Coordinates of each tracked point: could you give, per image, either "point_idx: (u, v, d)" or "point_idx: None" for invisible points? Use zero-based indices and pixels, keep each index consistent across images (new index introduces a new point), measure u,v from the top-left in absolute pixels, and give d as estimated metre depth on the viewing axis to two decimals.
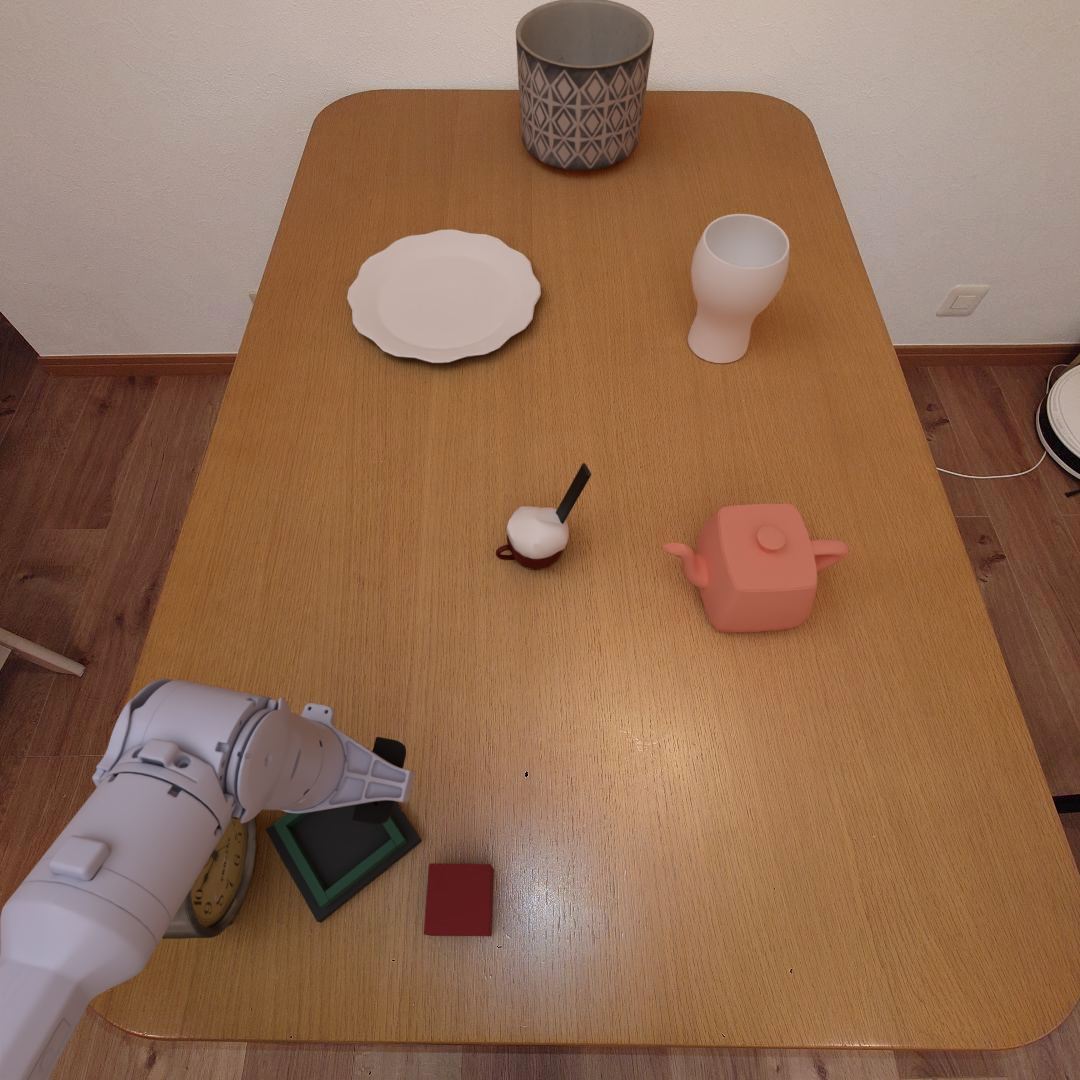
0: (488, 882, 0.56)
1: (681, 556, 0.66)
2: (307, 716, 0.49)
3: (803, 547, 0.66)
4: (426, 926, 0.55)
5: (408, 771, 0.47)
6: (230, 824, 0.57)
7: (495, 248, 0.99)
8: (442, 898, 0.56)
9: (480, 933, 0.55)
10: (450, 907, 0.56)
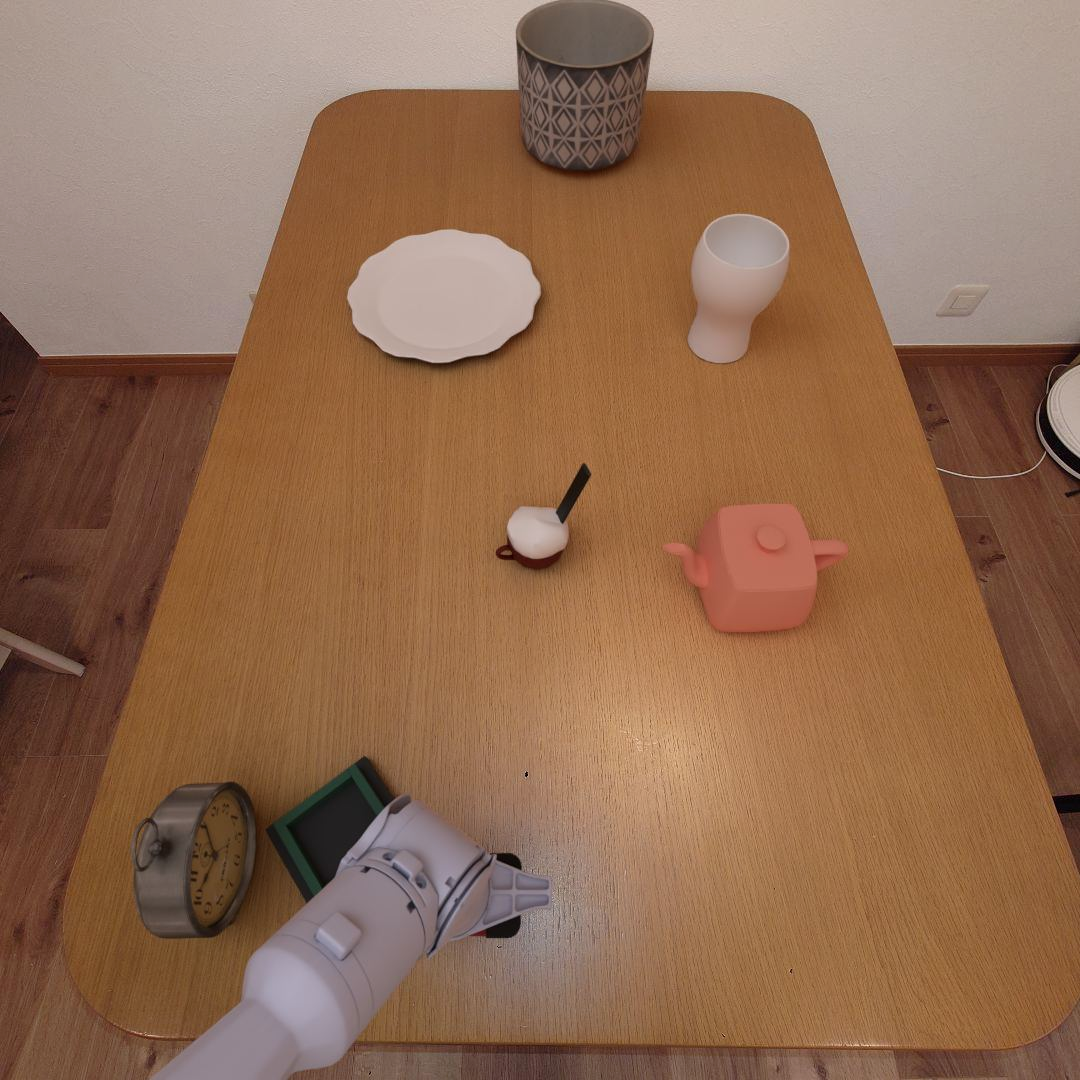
0: None
1: (681, 556, 0.66)
2: None
3: (803, 546, 0.66)
4: None
5: (549, 877, 0.51)
6: (230, 824, 0.57)
7: (495, 248, 0.99)
8: None
9: (479, 933, 0.55)
10: None
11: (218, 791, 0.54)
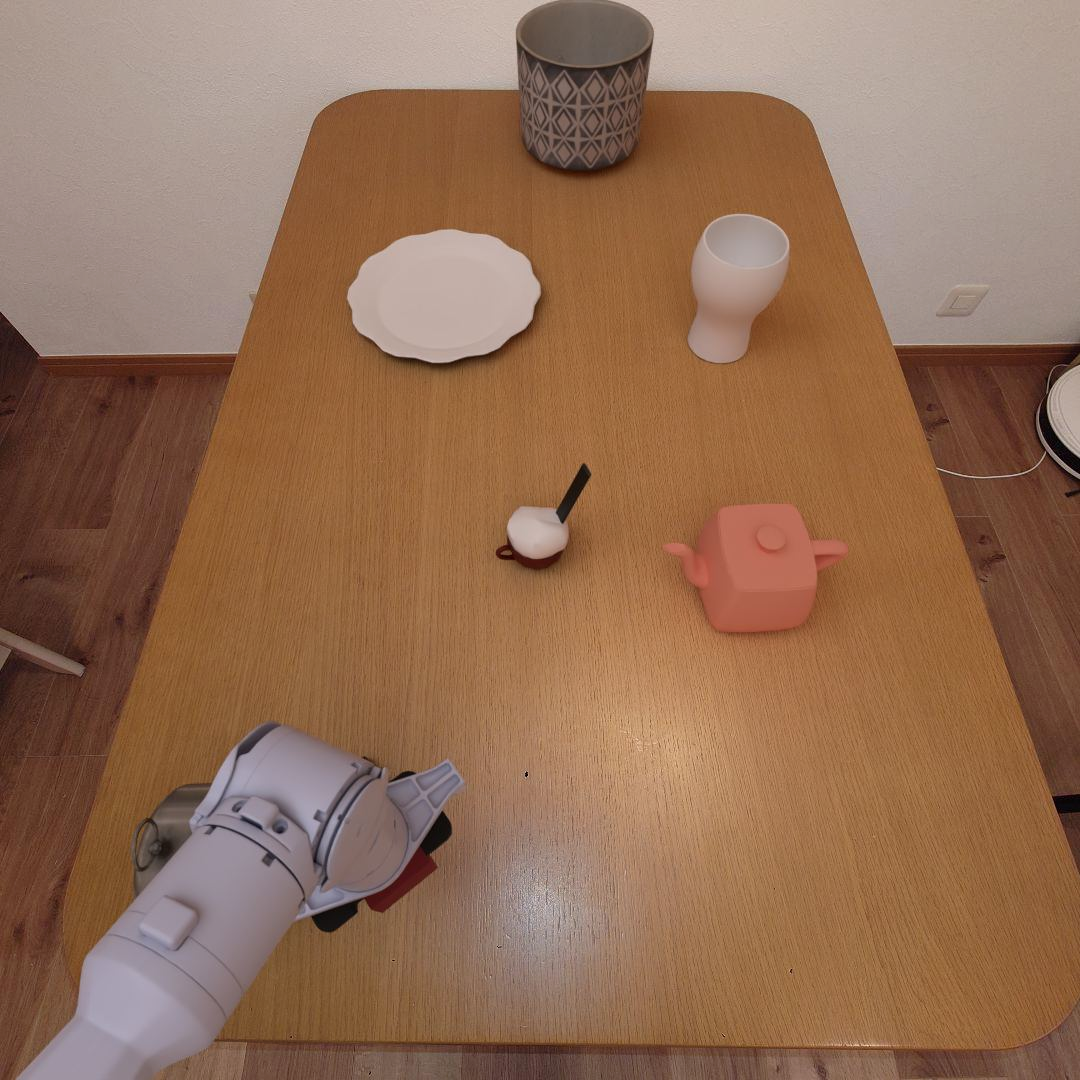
0: None
1: (681, 556, 0.66)
2: None
3: (803, 547, 0.66)
4: (369, 901, 0.50)
5: (447, 759, 0.48)
6: None
7: (495, 248, 0.99)
8: None
9: (423, 866, 0.51)
10: None
11: None
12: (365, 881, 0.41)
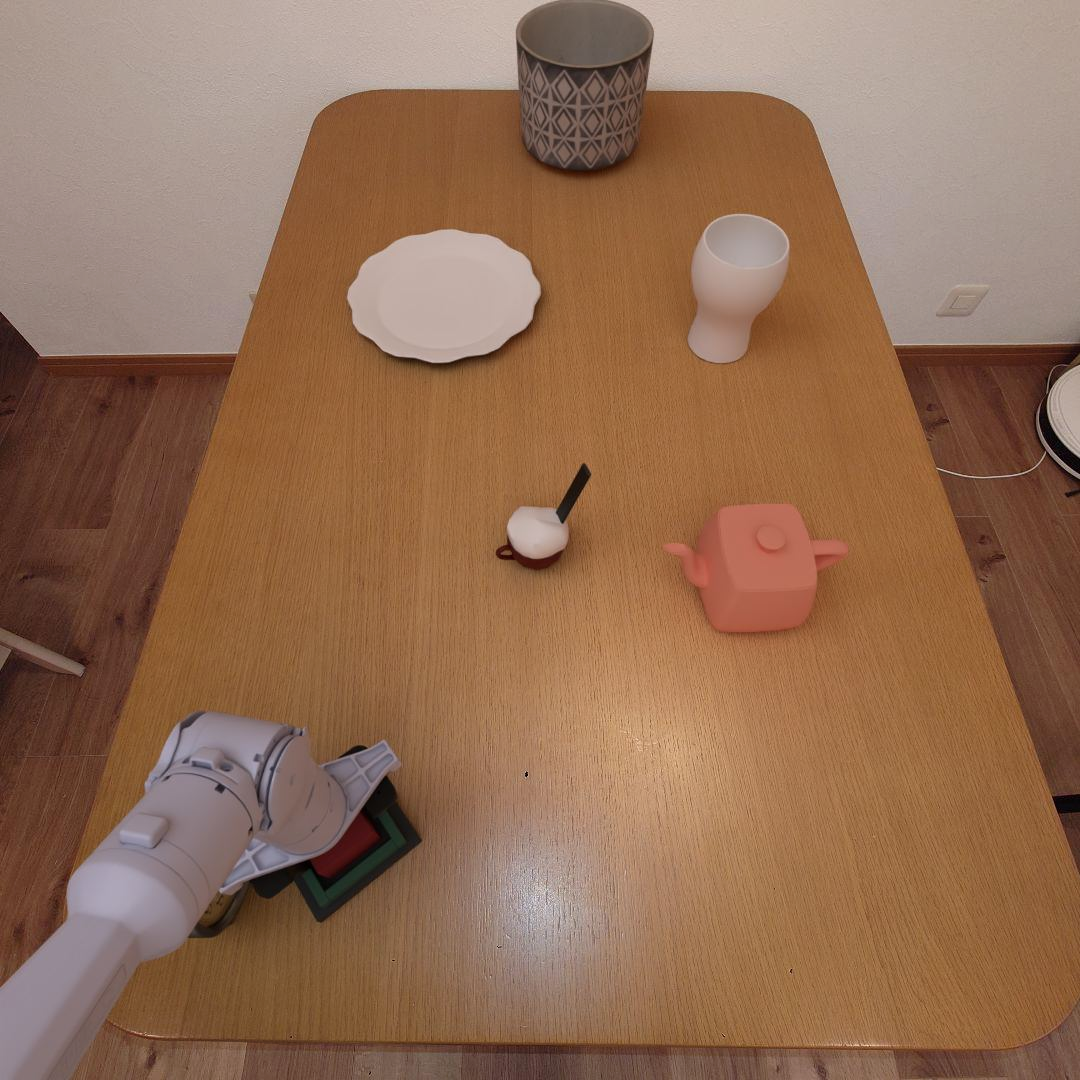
0: None
1: (681, 556, 0.66)
2: None
3: (803, 546, 0.66)
4: (316, 867, 0.56)
5: (383, 740, 0.54)
6: None
7: (495, 248, 0.99)
8: None
9: (365, 836, 0.57)
10: None
11: None
12: (303, 843, 0.47)
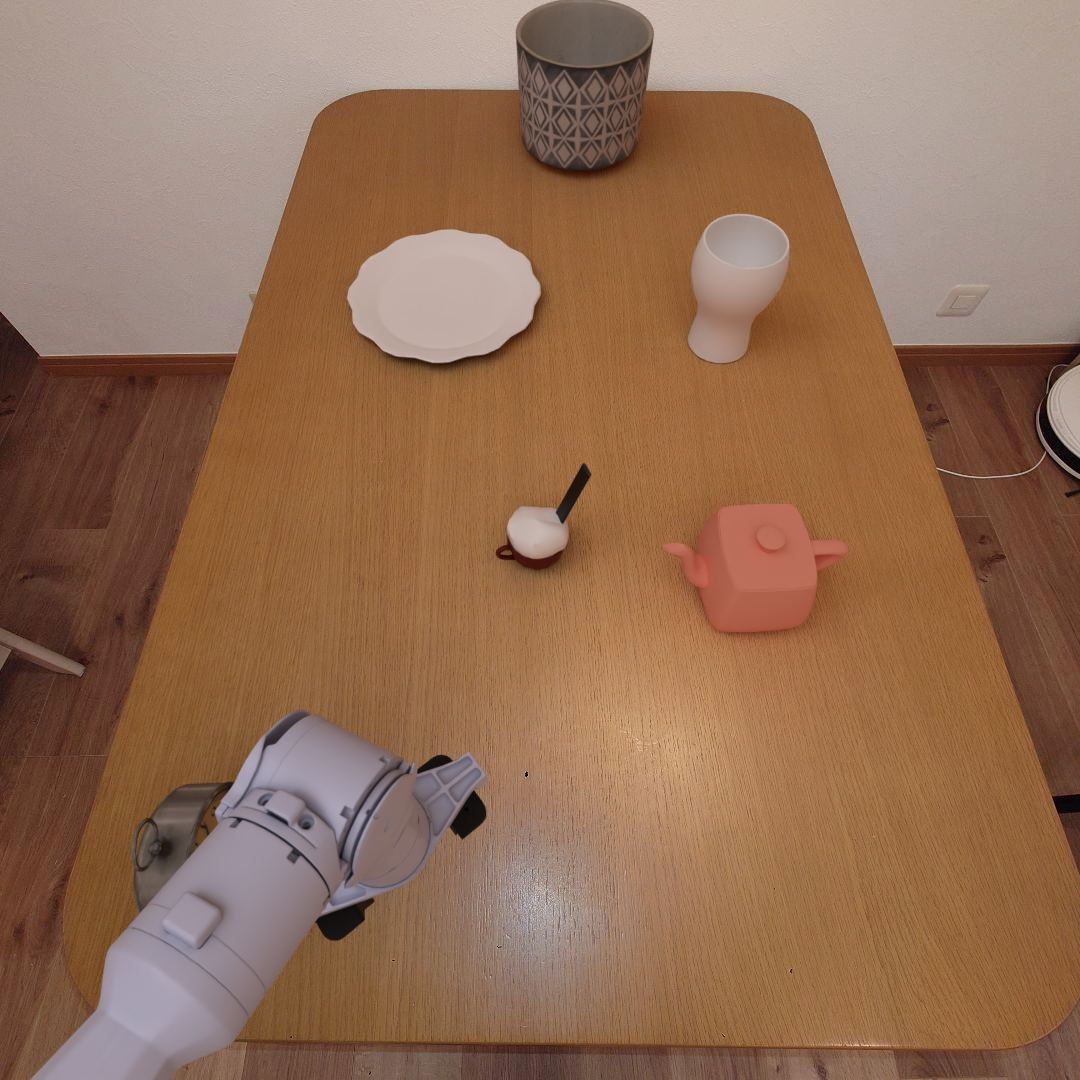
0: None
1: (681, 556, 0.66)
2: None
3: (803, 546, 0.66)
4: None
5: (468, 752, 0.47)
6: None
7: (495, 248, 0.99)
8: None
9: None
10: None
11: (218, 791, 0.54)
12: (388, 876, 0.40)
